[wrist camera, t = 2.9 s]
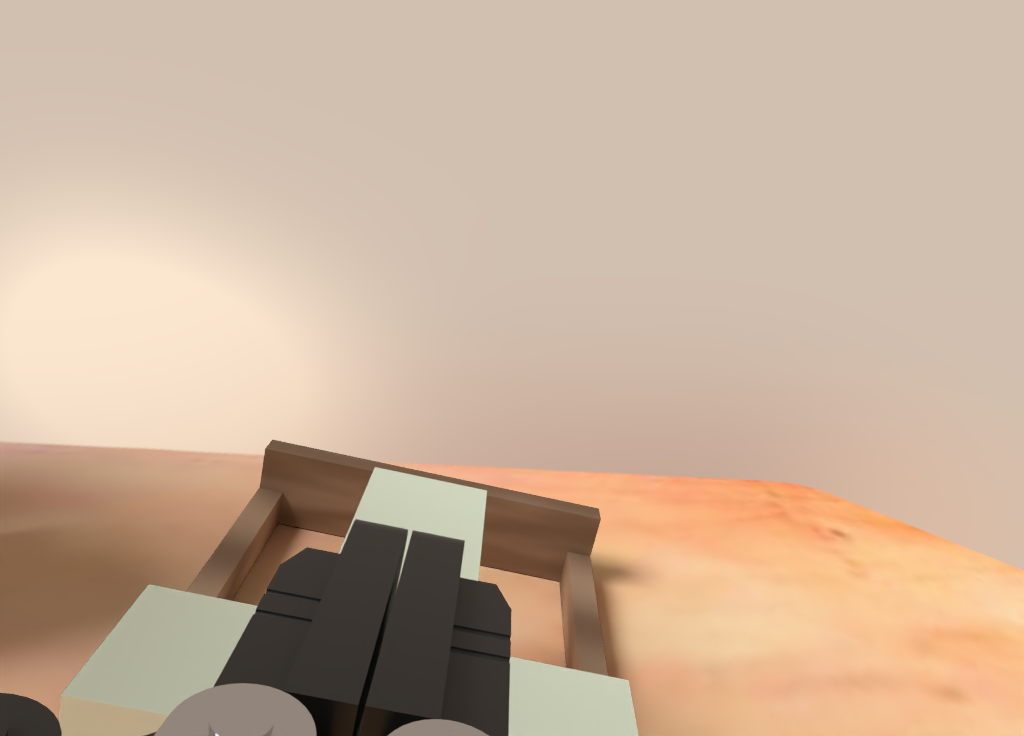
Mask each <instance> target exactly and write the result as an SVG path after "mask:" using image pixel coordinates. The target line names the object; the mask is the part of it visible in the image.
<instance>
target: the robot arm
mask: <svg viewBox="0 0 1024 736" xmlns="http://www.w3.org/2000/svg"><path fill="white" fill-rule="evenodd" d="M407 535H408V529H404V528H399V527H394V526H389V525H384V524H379V523H373V522H368V521H363V520H358V519H355V521H354V523H353V525H352V527H351V530H350V532H349V535H348V537H347V539H346V542H345V544H344V546H343V549H342V551H341V553H340V554H338V553H333V552H327V551H322V550H317V549H312V548H306V549H304V550H303V551H301V552H299V553H298V554H296V555H295V556H293V557H292V558H290V559H289V560H287V561H285V562H284V563H282V564H281V565H280V566H279V568H278V570H277V572H276V574H275V575H274V577H273V579H272V581H271V583H270V584H269V586H268V588H267V592H266V594H264V595H263V597H262V599H261V601H260V603H259V605H258V606H257V608H256V612H255V614H253V616H252V617H251V619H250V621H249V623H248V625H247V626H246V628H245V630H244V632H243V634H242V636H241V637H240V639H239V641H238V643H237V645H236V647H235V648H234V650H233V652H232V654H231V656H230V657H229V659H228V661H227V663H226V665H225V667H224V668H223V670H222V672H221V674H220V676H219V678H218V679H217V681H216V683H215V685H214V687H213V688H209V689H206V690H203V691H201V692H199V693H196V694H194V695H193V696H191V697H189V698H187V699H186V700H184V701H183V702H182V703H180V704H179V705H178V706H177V707H176V708H175V709H174V710H173V711H172V712H171V713H170V714H169V715H168V717H167V718H166V719H165V721H164V722H163V724H162V725H161V726H160V728H159V729H158V731H157V732H154V733H151V734H148V735H144V736H508V734H509V689H510V663H509V661H510V644H511V641H510V637H511V608H510V607H509V605H508V603H507V602H506V600H505V598H504V597H503V595H502V593H501V592H500V590H499V588H498V586H497V585H496V584H491V583H486V582H481V581H476V580H471V579H466V578H461V577H460V574H461V566H462V559H463V552H464V544H465V540H460V539H455V538H450V537H445V536H440V535H435V534H430V533H425V532H420V531H415V530H413V531H412V535H411V538H410V542H409V546H408V550H407V553H406V557H405V561H404V564H403V568H402V572H401V576H400V571H401V566H402V561H403V556H404V551H405V546H406V541H407ZM399 576H400V579H399ZM398 582H399V583H398ZM0 736H62V731H61V727H60V724H59V721H58V720H57V718H56V716H55V715H54V714H53V713H52V712H51V711H50V710H49V709H48V708H47V707H46V706H44V705H42V704H41V703H39V702H37V701H35V700H32V699H30V698H27V697H23V696H19V695H15V694H6V693H0Z"/></svg>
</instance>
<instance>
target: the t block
mask: <svg viewBox="0 0 1024 736" xmlns="http://www.w3.org/2000/svg"><path fill="white" fill-rule="evenodd" d="M486 497H487V490H482V489H477V488H472V487H468V486H463V485H458V484H453V483H449V482H444V481H439V480H434V479H430V478H425V477H420V476H415V475H411V474H406V473H401V472H396V471H392V470H387V469H382V468H377V467H375V468H374V470H373V473H372V475H371V478H370V480H369V482H368V485H367V487H366V489H365V492H364V494H363V497H362V499H361V501H360V504H359V506H358V508H357V511H356V513H355V516H354V518H353V520H352V523H351V525H350V528H349V530H348V532H347V535H346V537H345V539H344V542H343V544H342V547H341V549H340V551H339V554H340V553H341V551H342V549H343V546H344V544H345V542H346V539H347V537H348V535H349V532H350V530H351V527H352V525H353V523H354V521H355V519H358V520H363V521H368V522H373V523H379V524H384V525H389V526H394V527H399V528H404V529H408V535H407V541H406V546H405V551H404V556H403V561H402V566H401V571H400V576H401V572H402V568H403V564H404V561H405V557H406V553H407V550H408V546H409V542H410V538H411V535H412V531H413V530H415V531H420V532H425V533H430V534H435V535H440V536H445V537H450V538H455V539H460V540H465V544H464V552H463V559H462V566H461V574H460V577H461V578H466V579H471V580H476V581H478V580H479V569H480V559H481V549H482V538H483V528H484V518H485V507H486ZM400 576H399V579H400ZM398 583H399V582H398ZM256 608H257V606H255V605H250V604H245V603H240V602H235V601H231V600H226V599H221V598H216V597H211V596H206V595H201V594H196V593H191V592H186V591H181V590H176V589H171V588H166V587H161V586H156V585H151V584H148V586H147V587H146V588H145V590H144V591H143V592H142V593H141V595H140V596H139V597H138V598H137V600H136V601H135V602H134V603H133V605H132V606H131V607H130V608H129V610H128V611H127V612H126V613H125V615H124V616H123V617H122V618H121V620H120V621H119V622H118V623H117V625H116V626H115V627H114V628H113V630H112V631H111V632H110V633H109V635H108V636H107V637H106V638H105V640H104V641H103V642H102V643H101V645H100V646H99V647H98V649H97V650H96V651H95V652H94V654H93V655H92V656H91V657H90V659H89V660H88V661H87V662H86V664H85V665H84V666H83V667H82V669H81V670H80V671H79V672H78V674H77V675H76V676H75V677H74V679H73V680H72V681H71V682H70V684H69V685H68V686H67V687H66V689H65V690H64V691H63V692H62V694H61V697H60V710H59V724H60V727H61V731H62V736H144V735H148V734H151V733H154V732H157V731H158V729H159V728H160V726H161V725H162V724H163V722H164V721H165V719H166V718H167V717H168V715H169V714H170V713H171V712H172V711H173V710H174V709H175V708H176V707H177V706H178V705H179V704H180V703H182V702H183V701H184V700H186V699H187V698H189V697H191V696H193V695H194V694H196V693H199V692H201V691H203V690H206V689H209V688H213V687H214V685H215V683H216V681H217V679H218V678H219V676H220V674H221V672H222V670H223V668H224V667H225V665H226V663H227V661H228V659H229V657H230V656H231V654H232V652H233V650H234V648H235V647H236V645H237V643H238V641H239V639H240V637H241V636H242V634H243V632H244V630H245V628H246V626H247V625H248V623H249V621H250V619H251V617H252V616H253V614H255V612H256ZM509 663H510V689H509V734H508V736H639V734H638V729H637V723H636V718H635V713H634V707H633V702H632V696H631V691H630V686H629V680H625V679H620V678H615V677H610V676H605V675H600V674H595V673H590V672H585V671H580V670H575V669H570V668H565V667H560V666H555V665H550V664H545V663H540V662H535V661H530V660H525V659H520V658H515V657H510V661H509Z"/></svg>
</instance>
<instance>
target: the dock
mask: <svg viewBox="0 0 1024 736" xmlns="http://www.w3.org/2000/svg"><path fill="white" fill-rule="evenodd" d="M375 467H377V468H382V469H387V470H392V471H396V472H401V473H406V474H411V475H415V476H420V477H425V478H430V479H434V480H439V481H444V482H449V483H453V484H458V485H463V486H468V487H472V488H477V489H482V490H487V497H486V507H485V518H484V528H483V538H482V549H481V559H480V565H483V566H488V567H493V568H497V569H502V570H507V571H512V572H517V573H522V574H527V575H531V576H536V577H541V578H546V579H551V580H556V581H560V593H561V606H562V619H563V632H564V645H565V658H566V668H570V669H575V670H580V671H585V672H590V673H595V674H600V675H605V676H608V672H607V666H606V659H605V652H604V646H603V639H602V632H601V626H600V619H599V612H598V606H597V599H596V592H595V586H594V579H593V572H592V566H591V559H590V555H591V551H592V548H593V544H594V541H595V537H596V534H597V530H598V527H599V523H600V520H601V519H600V513H599V509H598V508H593V507H588V506H583V505H579V504H574V503H569V502H565V501H560V500H555V499H550V498H546V497H541V496H536V495H531V494H527V493H522V492H517V491H513V490H508V489H503V488H498V487H494V486H489V485H484V484H479V483H475V482H470V481H465V480H461V479H456V478H451V477H446V476H442V475H437V474H432V473H427V472H423V471H418V470H413V469H408V468H404V467H399V466H394V465H390V464H385V463H380V462H375V461H371V460H366V459H361V458H356V457H351V456H347V455H342V454H338V453H333V452H328V451H323V450H319V449H314V448H309V447H304V446H300V445H295V444H290V443H286V442H281V441H276V440H272V441H271V442H270V444H269V445H268V446H267V448H266V449H265V456H264V462H263V469H262V476H261V483H260V488H259V489H258V491H257V492H256V494H255V495H254V496H253V498H252V499H251V501H250V502H249V504H248V505H247V506H246V508H245V509H244V511H243V512H242V513H241V515H240V516H239V518H238V519H237V521H236V522H235V523H234V525H233V526H232V528H231V529H230V530H229V532H228V533H227V535H226V536H225V538H224V539H223V540H222V542H221V543H220V545H219V546H218V547H217V549H216V550H215V552H214V553H213V555H212V556H211V557H210V559H209V560H208V562H207V563H206V565H205V566H204V567H203V569H202V570H201V572H200V573H199V574H198V576H197V577H196V579H195V580H194V582H193V583H192V584H191V586H190V587H189V589H188V590H187V591H186V592H191V593H196V594H201V595H206V596H211V597H216V598H221V599H226V600H231V601H232V599H233V598H234V596H235V594H236V593H237V591H238V589H239V588H240V586H241V584H242V583H243V581H244V579H245V578H246V576H247V574H248V573H249V571H250V569H251V568H252V566H253V564H254V563H255V561H256V559H257V558H258V556H259V554H260V553H261V551H262V549H263V548H264V546H265V544H266V543H267V541H268V539H269V538H270V536H271V534H272V533H273V531H274V529H275V528H276V526H277V524H278V523H279V524H284V525H289V526H294V527H299V528H303V529H308V530H313V531H318V532H323V533H328V534H333V535H337V536H342V537H346V535H347V532H348V530H349V528H350V525H351V523H352V520H353V518H354V516H355V513H356V511H357V508H358V506H359V504H360V501H361V499H362V497H363V494H364V492H365V489H366V487H367V485H368V482H369V480H370V478H371V475H372V473H373V470H374V468H375Z"/></svg>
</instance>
